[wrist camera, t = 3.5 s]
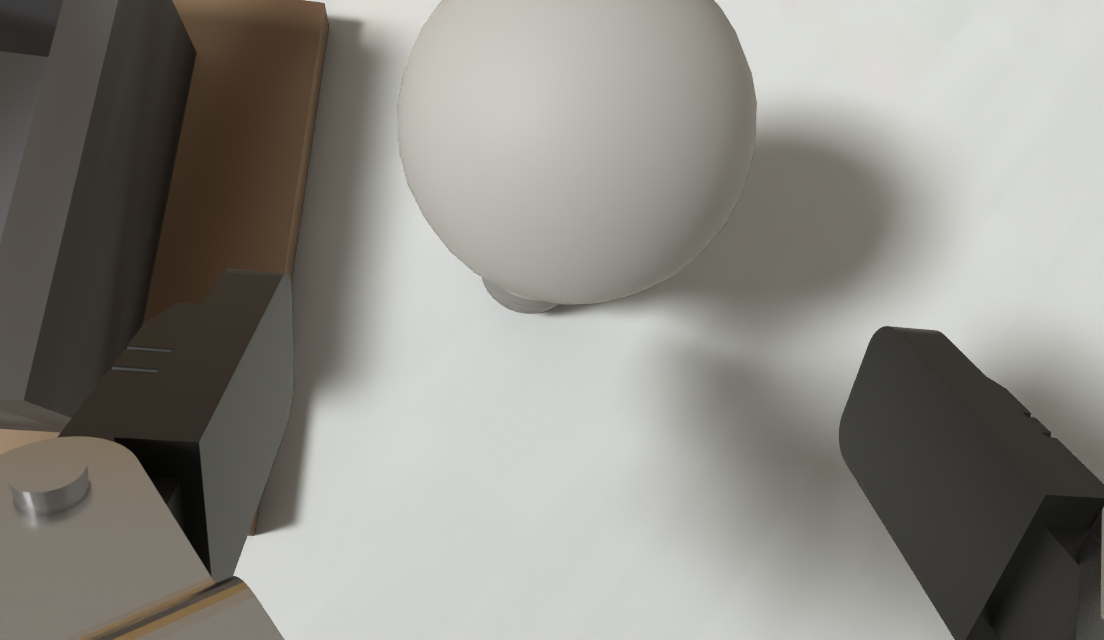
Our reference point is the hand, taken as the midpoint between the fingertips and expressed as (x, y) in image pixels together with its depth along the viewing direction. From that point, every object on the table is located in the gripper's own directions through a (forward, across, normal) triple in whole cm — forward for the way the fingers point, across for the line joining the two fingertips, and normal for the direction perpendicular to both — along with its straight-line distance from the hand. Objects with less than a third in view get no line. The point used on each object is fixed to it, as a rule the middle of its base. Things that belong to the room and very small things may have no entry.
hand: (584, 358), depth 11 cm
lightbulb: (+10, 0, +4) cm, 11 cm away
